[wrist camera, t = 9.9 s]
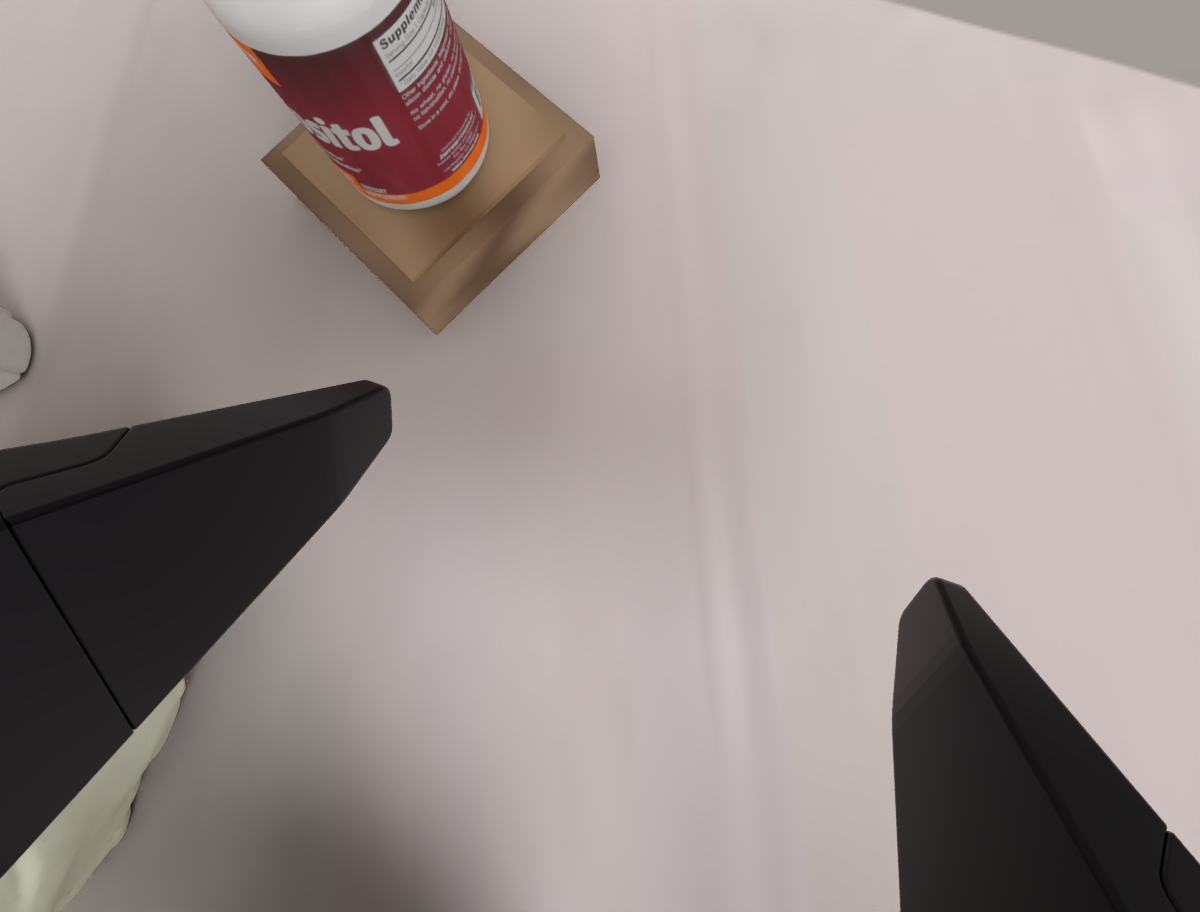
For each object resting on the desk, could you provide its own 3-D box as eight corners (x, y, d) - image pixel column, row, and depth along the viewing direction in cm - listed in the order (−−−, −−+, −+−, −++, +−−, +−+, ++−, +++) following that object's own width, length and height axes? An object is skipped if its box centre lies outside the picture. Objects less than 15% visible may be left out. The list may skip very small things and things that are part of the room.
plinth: (436, 334, 25) (409, 306, 22) (296, 196, 27) (256, 155, 24) (599, 177, 26) (592, 131, 23) (451, 52, 28) (429, -4, 25)
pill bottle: (318, 183, 24) (33, -135, 13) (394, 61, 24) (184, -336, 14) (445, 241, 23) (251, -52, 12) (521, 112, 23) (404, -276, 12)
